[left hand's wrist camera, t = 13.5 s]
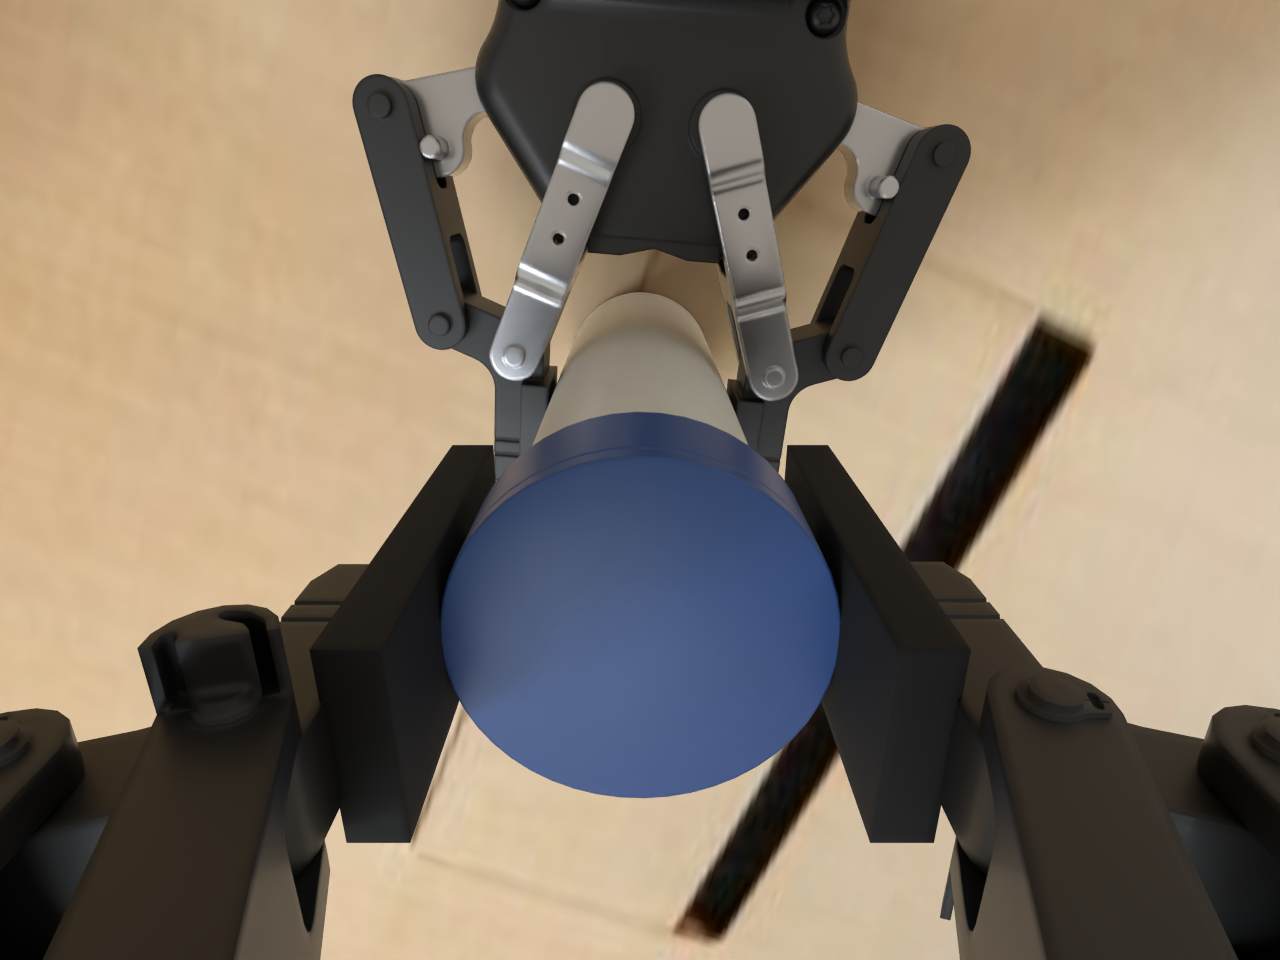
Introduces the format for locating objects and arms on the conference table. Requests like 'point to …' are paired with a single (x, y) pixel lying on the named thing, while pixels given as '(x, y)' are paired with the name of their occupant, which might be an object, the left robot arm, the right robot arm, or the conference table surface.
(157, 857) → the left robot arm
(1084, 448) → the conference table surface
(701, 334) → the jar
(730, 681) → the lid
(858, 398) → the conference table surface
